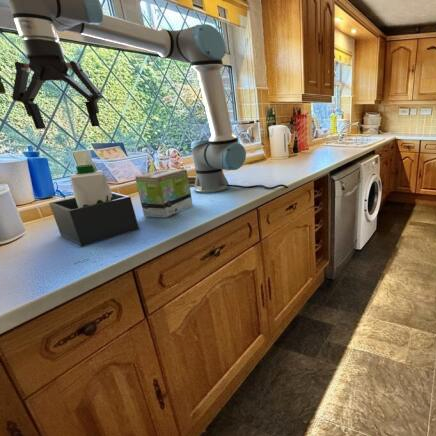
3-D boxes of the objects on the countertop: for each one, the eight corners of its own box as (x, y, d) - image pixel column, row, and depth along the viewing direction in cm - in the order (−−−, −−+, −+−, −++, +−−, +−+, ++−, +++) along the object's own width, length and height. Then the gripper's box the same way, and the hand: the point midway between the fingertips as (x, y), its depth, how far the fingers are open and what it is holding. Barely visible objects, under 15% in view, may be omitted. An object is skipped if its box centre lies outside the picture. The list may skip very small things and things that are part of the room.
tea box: (168, 218, 106) (158, 176, 101) (143, 217, 108) (133, 176, 103) (194, 205, 120) (186, 168, 114) (171, 204, 122) (163, 168, 116)
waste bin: (116, 220, 105) (107, 190, 102) (139, 228, 97) (130, 196, 93) (61, 236, 93) (48, 203, 89) (81, 247, 85) (69, 210, 81)
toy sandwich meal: (210, 184, 152) (209, 175, 151) (181, 187, 148) (179, 178, 146) (209, 179, 163) (208, 171, 162) (182, 182, 159) (181, 173, 157)
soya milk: (119, 222, 101) (101, 162, 94) (122, 230, 94) (104, 166, 87) (86, 229, 95) (65, 166, 89) (87, 238, 89) (65, 170, 82)
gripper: (-31, 37, 71) (6, 130, 79) (87, 37, 76) (112, 125, 83) (-5, 43, 78) (27, 128, 86) (102, 43, 83) (123, 124, 90)
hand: (69, 127), depth 84 cm, fingers open, 13 cm apart
